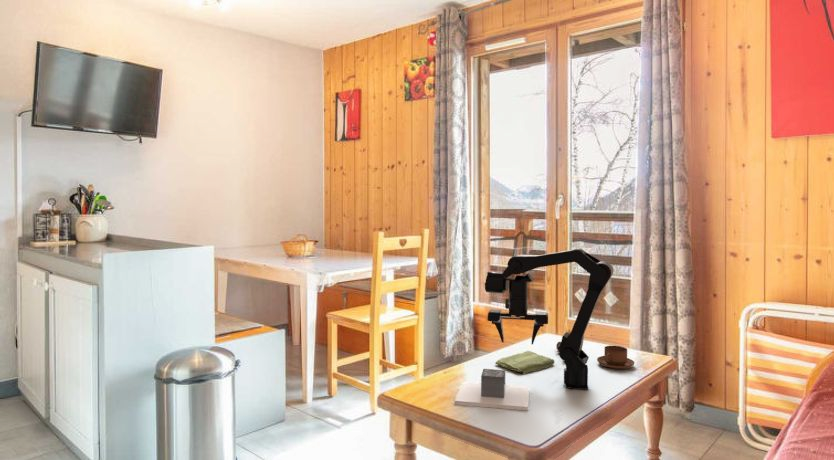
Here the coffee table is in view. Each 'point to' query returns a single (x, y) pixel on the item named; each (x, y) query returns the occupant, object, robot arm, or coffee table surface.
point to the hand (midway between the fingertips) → (517, 343)
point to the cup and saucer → (615, 358)
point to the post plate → (512, 399)
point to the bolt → (558, 345)
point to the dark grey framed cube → (493, 383)
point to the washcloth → (525, 362)
